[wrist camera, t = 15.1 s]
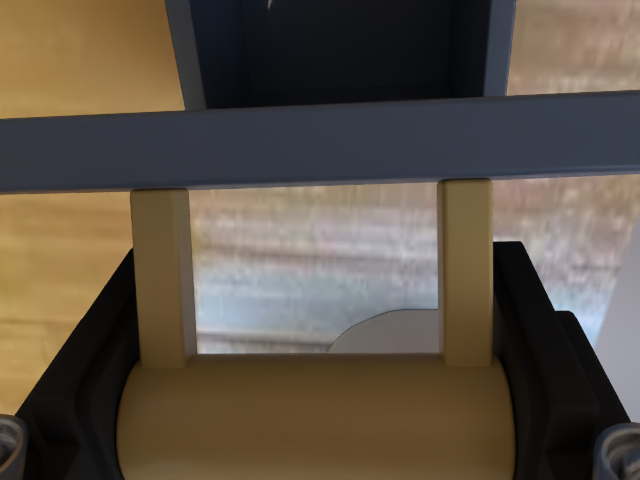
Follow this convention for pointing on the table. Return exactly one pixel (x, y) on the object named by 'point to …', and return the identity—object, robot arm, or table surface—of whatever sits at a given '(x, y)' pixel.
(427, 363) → the lid
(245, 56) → the chest
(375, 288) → the table surface
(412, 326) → the lumpy-topped squat cylinder
